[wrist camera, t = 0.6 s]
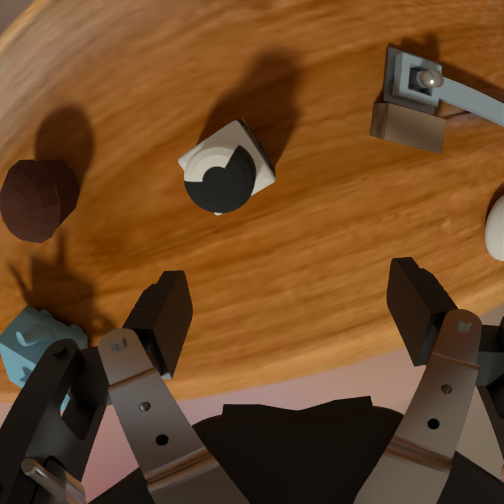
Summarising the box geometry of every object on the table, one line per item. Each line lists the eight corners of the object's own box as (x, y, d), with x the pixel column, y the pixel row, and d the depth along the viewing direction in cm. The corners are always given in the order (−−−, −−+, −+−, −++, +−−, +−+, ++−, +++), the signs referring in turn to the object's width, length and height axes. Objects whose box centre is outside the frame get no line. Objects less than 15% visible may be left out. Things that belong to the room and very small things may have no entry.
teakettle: (119, 360, 53) (90, 420, 39) (65, 374, 57) (37, 421, 44) (57, 280, 46) (8, 333, 32) (12, 308, 50) (-27, 351, 37)
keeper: (373, 103, 32) (389, 103, 27) (425, 116, 32) (446, 119, 27) (369, 134, 33) (384, 139, 29) (421, 147, 33) (440, 154, 29)
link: (391, 95, 30) (399, 94, 28) (395, 55, 28) (402, 52, 26) (502, 134, 30) (511, 136, 28) (506, 100, 28) (515, 101, 26)
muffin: (64, 239, 42) (26, 270, 33) (21, 193, 39) (-21, 216, 30) (100, 182, 38) (58, 206, 29) (51, 133, 35) (3, 146, 26)
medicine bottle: (276, 167, 36) (278, 194, 25) (225, 198, 38) (207, 236, 27) (242, 117, 34) (229, 120, 23) (192, 150, 36) (159, 170, 25)
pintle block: (386, 47, 28) (408, 37, 22) (436, 64, 28) (464, 59, 22) (381, 100, 31) (403, 100, 25) (430, 114, 31) (458, 118, 25)
